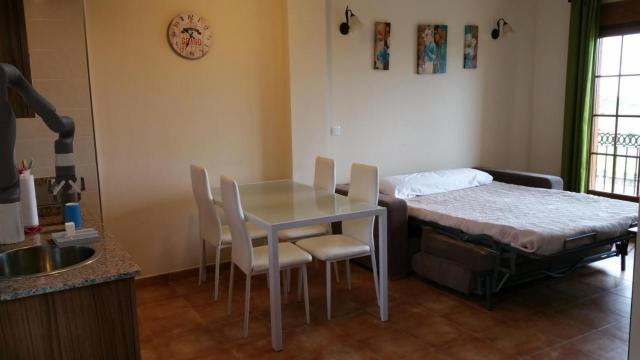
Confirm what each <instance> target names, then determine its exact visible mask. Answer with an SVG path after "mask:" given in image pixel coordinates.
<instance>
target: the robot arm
mask: <svg viewBox="0 0 640 360" xmlns="http://www.w3.org/2000/svg"><path fill="white" fill-rule="evenodd" d="M8 87H9V88H10V89H13V90H14V91H15V92H17V93H18V95H20V97H22V98H23V99H22V100H24V102H25V104H26V105H27V107H28V108H29V109H30V110H31V111H32V112H33V113H35V114H36V115H37V116H38V117H40V118H41V120H42V121H43V123H44V124H45V126H46V127H47V128H48V129H49V130H50V131H51V132H53V133H55V134H58V138H57V139H55V141H54V142H53V144H54V145H53V147H54V149H53V150H54V169H55V173H54V174H55V178H47V187H46V189H47V190H46V191H47V193H48V194H51V195H52V201H53V203H54V204H58V192H59V191H60V190H61V189H62V188H71V187H72V189H74V191H75V190H76V192H75V195H76V202H80V201H81V199H82V192H84V191H86V184H85V178H84V176H78V177H77V176H76V164H75V163H76V162H75V154H74V145H73V143H74V138H75V133H76V124H75V121H74V119H73V118H72V117H71V116H68V115H59V114H58V113H57V109H56V107H55V105H53V104H52V103H51V102H50V101H48V100H47V98H45V97H44V96H43V95H42V94H40V93H39V92H38V91H37V89H36V88H34V87H33V86H32V85H31V83H30V82H29V81H28V80H27V79H26V78H25V77H24V75H23V74H22V73H21V72H20V71H19V69H17V67H16V66H14V65H12V64H10V63H6V62H0V245H8V244H9V245H10V244H18V243H22V242H23V241H25V231H24V228H25V227H24V221H23V211H22V210H23V209H22V200H21V195H22V193H21V191H22V190H21V180H20V173H19V170H18V168H17V167H16V166H15V160H14V150H15V146H16V139H17V118H16V114H15V113H14V110H13V108H12V106H11V104H10V102H9V99H8V90H7V88H8ZM77 181H78V182H79V183H80V188H79V187H78V186H77V185H76V182H77ZM54 183H55V184H56V186H55V187H54V189H53V190H52V185H54Z"/></svg>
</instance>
